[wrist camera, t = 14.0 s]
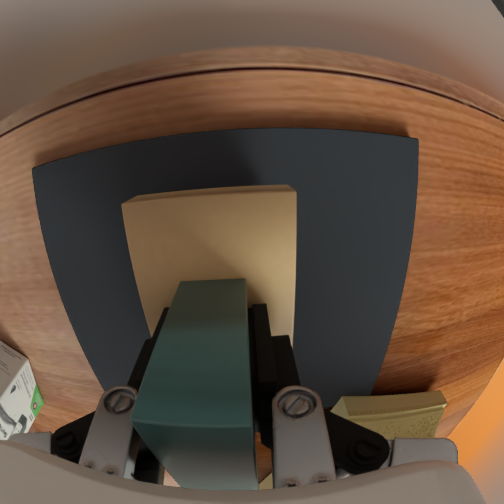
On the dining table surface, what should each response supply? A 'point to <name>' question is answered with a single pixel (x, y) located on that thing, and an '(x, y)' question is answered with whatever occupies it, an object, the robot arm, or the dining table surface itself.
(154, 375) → the brush
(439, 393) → the decorative clock
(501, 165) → the dining table surface
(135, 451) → the robot arm
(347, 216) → the mat
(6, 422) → the ink box
